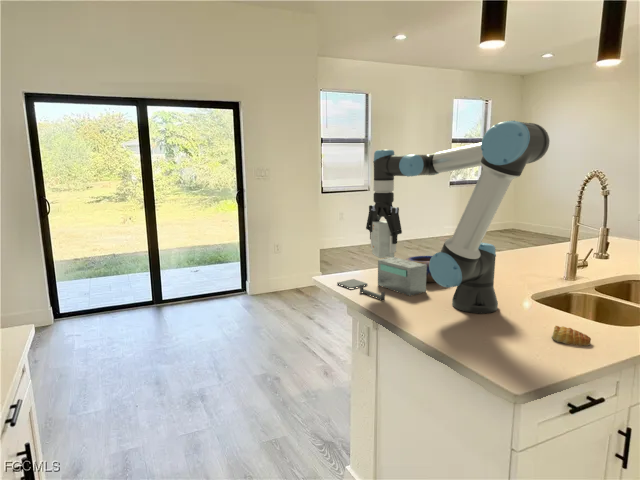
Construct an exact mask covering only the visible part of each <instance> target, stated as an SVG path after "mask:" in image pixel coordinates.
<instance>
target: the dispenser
mask: <svg viewBox="0 0 640 480" xmlns="http://www.w3.org/2000/svg"><path fill="white" fill-rule="evenodd" d="M426 273H427V265H426V264H421V263H417V262H413V261H409V260H406V259H403V258H399V257H395V256H394V257H388V258H380V259H378V260H377V286H378V285H380V286H383V287H386V288H389V289H388V290H390V289H392V290H391V291H393V290H395V291H394V292H396V291H398V292H397V293H399V292H400V294H402V293H404V294H403V295H405V294H406V295H405V296H408V295H409V297H412V296H411V295H413V296H416V295H419V293H420V294H423V293H426V292H427V282H426ZM380 286H379V287H380ZM383 287H382V288H383ZM386 288H385V289H386ZM360 292H363V293H366V294H368V295H371V296H374V297H377V298H379V299H378V300H380V299H381V300H380V301H382V300H384V301H385V300H386V296H385V295H386V291H380V293H377V292H374V291H371V290H368V289H365V288H364V287H363V285H360V288H359V293H360ZM422 292H423V293H422ZM363 293H362V294H363ZM366 294H365V295H366ZM415 294H416V295H415ZM368 295H367V296H368ZM371 296H370V297H371ZM374 297H373V298H374ZM377 298H376V299H377Z"/></svg>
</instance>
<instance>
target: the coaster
mask: <svg viewBox="0 0 640 480" xmlns="http://www.w3.org/2000/svg"><path fill="white" fill-rule="evenodd" d="M337 284H340V285H343V286H345V287H348V288H356V287H360V285H363V286H364V285H367V286H368V283H367V282H364V281H361V280H358V279H355V278H352V279H347V280H342V281H339V282H338V281H337V283H336V285H337ZM345 287H344V288H345ZM364 287H365V286H364ZM356 289H357V288H356Z"/></svg>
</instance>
